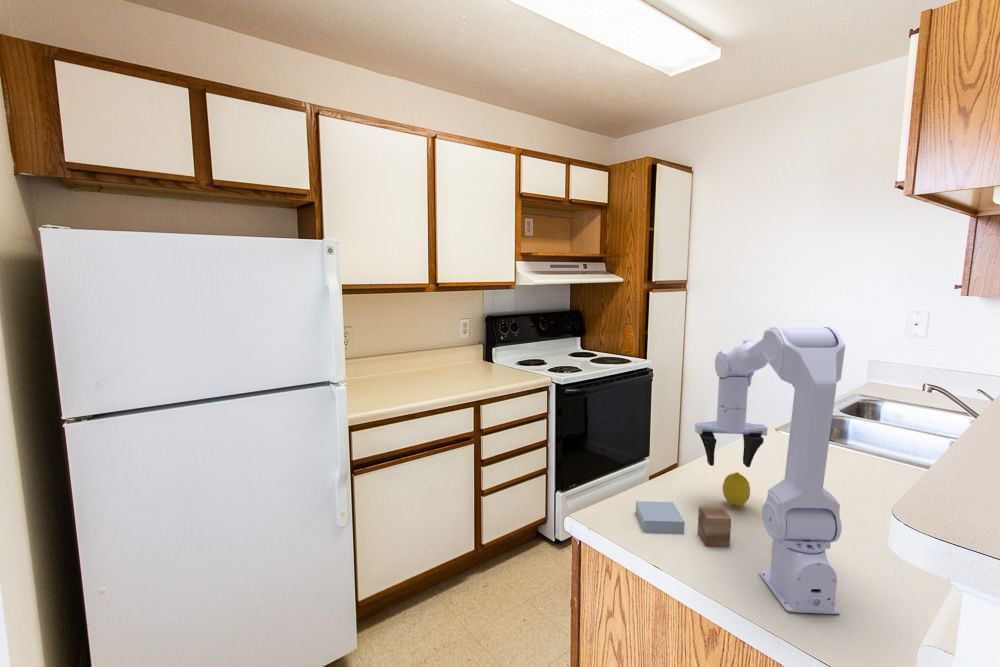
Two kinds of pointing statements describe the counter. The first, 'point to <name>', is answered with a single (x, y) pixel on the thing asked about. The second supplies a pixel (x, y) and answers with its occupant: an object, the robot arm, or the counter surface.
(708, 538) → the walnut block
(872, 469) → the counter surface
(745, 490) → the lemon
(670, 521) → the blue-gray block
